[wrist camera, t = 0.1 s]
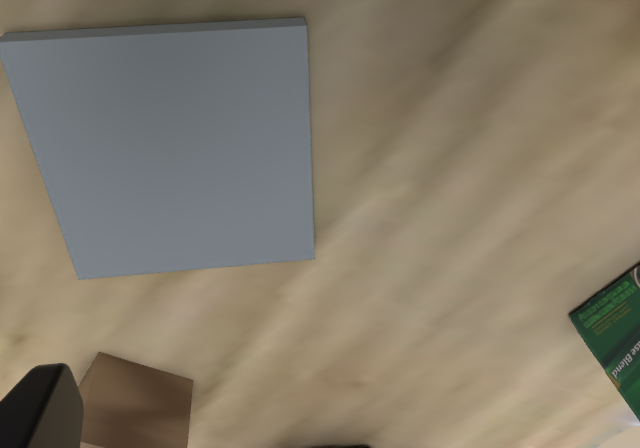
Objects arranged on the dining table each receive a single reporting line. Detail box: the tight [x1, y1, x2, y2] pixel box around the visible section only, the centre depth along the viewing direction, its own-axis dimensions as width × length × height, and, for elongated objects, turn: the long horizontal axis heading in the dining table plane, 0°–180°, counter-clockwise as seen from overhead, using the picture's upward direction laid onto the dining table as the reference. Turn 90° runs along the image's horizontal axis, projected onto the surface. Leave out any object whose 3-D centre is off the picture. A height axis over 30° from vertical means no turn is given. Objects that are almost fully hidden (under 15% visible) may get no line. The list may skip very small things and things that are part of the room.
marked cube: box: [78, 352, 193, 448], centre depth 28 cm, size 5×5×5 cm
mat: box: [0, 17, 315, 280], centre depth 22 cm, size 10×10×1 cm
